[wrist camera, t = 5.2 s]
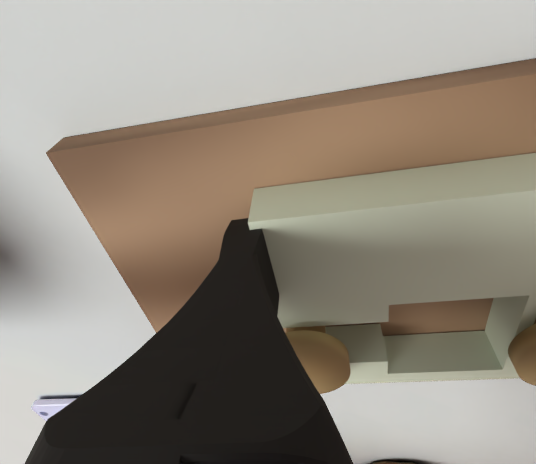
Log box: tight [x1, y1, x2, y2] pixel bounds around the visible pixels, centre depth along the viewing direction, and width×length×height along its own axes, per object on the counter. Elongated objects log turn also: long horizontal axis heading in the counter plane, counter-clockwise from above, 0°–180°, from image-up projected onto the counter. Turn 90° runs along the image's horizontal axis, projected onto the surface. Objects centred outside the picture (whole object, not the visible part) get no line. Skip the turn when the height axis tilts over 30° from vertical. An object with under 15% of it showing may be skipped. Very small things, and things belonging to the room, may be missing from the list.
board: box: [46, 59, 536, 394], centre depth 11 cm, size 12×23×4 cm, turn 101°
